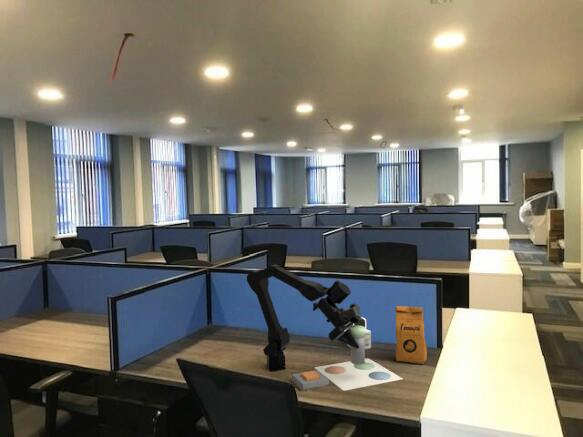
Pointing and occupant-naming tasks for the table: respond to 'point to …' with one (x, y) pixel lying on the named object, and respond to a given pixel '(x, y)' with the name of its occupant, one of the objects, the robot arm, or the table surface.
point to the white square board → (357, 374)
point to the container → (367, 333)
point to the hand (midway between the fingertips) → (361, 345)
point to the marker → (359, 336)
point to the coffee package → (410, 335)
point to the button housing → (311, 383)
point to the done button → (310, 375)
